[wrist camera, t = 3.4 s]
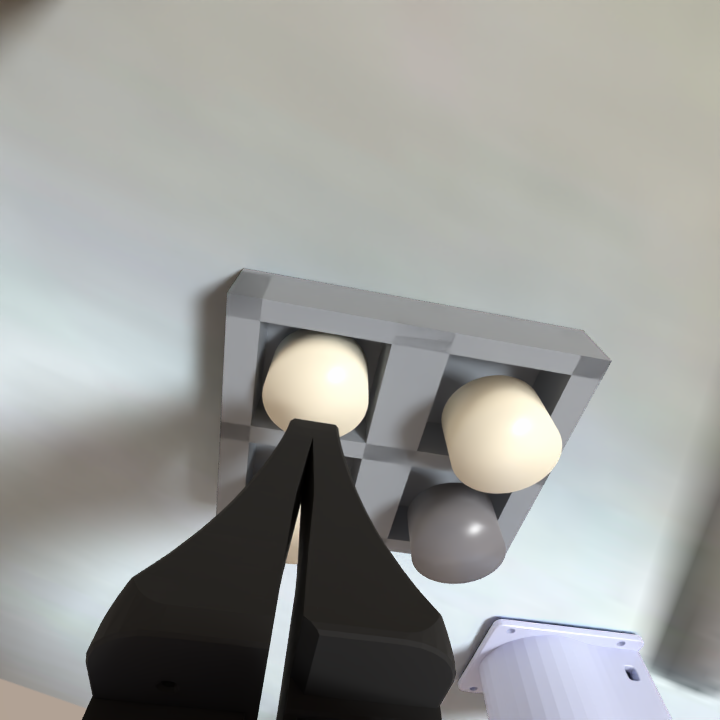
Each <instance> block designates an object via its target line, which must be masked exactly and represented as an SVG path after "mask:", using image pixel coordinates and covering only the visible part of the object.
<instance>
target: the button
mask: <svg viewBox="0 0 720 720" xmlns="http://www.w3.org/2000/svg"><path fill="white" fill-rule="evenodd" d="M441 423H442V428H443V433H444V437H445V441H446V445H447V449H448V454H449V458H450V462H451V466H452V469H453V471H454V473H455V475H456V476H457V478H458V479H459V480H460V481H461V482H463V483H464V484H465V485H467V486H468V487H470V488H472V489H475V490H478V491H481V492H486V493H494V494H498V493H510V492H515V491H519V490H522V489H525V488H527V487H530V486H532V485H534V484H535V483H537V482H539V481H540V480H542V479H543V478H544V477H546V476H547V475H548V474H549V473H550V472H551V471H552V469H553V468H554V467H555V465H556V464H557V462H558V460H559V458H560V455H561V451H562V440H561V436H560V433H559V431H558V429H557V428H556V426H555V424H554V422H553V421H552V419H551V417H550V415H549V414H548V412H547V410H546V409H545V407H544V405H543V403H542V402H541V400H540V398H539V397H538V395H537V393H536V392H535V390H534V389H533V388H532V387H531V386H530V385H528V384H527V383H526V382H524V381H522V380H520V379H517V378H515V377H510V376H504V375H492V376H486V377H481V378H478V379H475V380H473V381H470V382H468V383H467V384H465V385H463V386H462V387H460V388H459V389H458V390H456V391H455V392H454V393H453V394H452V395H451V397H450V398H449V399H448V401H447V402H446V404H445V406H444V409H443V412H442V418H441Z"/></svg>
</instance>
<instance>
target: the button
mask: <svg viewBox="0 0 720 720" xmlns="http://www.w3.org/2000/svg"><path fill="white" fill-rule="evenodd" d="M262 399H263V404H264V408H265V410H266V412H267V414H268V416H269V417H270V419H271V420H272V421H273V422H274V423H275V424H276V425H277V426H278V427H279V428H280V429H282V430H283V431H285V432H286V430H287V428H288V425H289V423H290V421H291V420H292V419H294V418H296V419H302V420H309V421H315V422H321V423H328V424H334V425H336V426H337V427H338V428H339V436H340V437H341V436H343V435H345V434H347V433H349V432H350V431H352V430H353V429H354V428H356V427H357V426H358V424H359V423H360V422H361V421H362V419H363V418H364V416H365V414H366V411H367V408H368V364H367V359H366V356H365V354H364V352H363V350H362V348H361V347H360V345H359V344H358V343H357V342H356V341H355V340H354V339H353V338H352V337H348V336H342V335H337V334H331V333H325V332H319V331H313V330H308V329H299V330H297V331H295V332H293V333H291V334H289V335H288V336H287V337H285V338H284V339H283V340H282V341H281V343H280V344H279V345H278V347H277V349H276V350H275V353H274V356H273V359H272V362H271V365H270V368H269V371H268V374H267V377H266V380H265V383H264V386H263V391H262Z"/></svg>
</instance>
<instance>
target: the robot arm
mask: <svg viewBox="0 0 720 720" xmlns="http://www.w3.org/2000/svg"><path fill="white" fill-rule="evenodd" d="M300 505H301V510H300V528H299V546H298V564H297V579H296V590H295V597H294V604H293V611H292V618H291V624H290V631H289V638H288V645H287V652H286V658H285V665H284V672H283V679H282V685H281V692H280V699H279V705H278V712H277V719H276V720H442V718H441V710H440V704H441V702H442V701H443V699H444V697H445V696H446V694H447V692H448V690H449V689H450V687H451V685H452V684H453V681H454V678H455V675H456V671H455V662H454V656H453V652H452V648H451V644H450V641H449V637H448V634H447V630H446V627H445V624H444V621H443V619H442V616H441V614H440V613H439V612H438V611H437V610H436V609H435V608H434V607H433V606H432V605H431V603H430V602H429V601H428V600H427V599H426V598H425V597H424V596H423V595H422V593H421V592H420V591H419V590H418V589H417V587H416V586H415V585H414V584H413V582H412V581H411V580H410V579H409V577H408V576H407V575H406V573H405V572H404V571H403V569H402V568H401V567H400V565H399V564H398V562H397V561H396V559H395V558H394V556H393V555H392V554H391V552H390V551H389V549H388V548H387V546H386V545H385V543H384V542H383V540H382V538H381V537H380V535H379V533H378V532H377V530H376V528H375V526H374V525H373V523H372V521H371V519H370V517H369V515H368V513H367V511H366V509H365V507H364V505H363V503H362V501H361V499H360V497H359V494H358V492H357V490H356V487H355V485H354V482H353V480H352V477H351V474H350V471H349V469H348V466H347V463H346V460H345V457H344V453H343V449H342V446H341V441H340V436H339V428H338V427H337V426H336V425H334V424H328V423H321V422H315V421H309V420H302V419H296V418H294V419H292V420H291V421H290V423H289V425H288V428H287V430H286V432H285V433H284V435H283V437H282V439H281V440H280V442H279V443H278V445H277V447H276V448H275V450H274V451H273V452H272V454H271V455H270V457H269V458H268V459H267V461H266V462H265V464H264V465H263V466H262V467H261V469H260V470H259V471H258V472H257V473H256V475H255V476H254V477H253V478H252V480H251V481H250V482H249V483H248V484H247V485H246V487H245V488H244V489H243V490H242V491H241V492H240V493H239V494H238V495H237V496H236V497H235V498H234V499H233V500H232V501H231V502H230V503H229V504H228V505H227V506H226V507H225V508H224V509H223V510H222V511H221V512H220V513H219V514H218V515H216V516H215V517H214V518H213V519H212V520H211V521H210V522H209V523H208V524H206V525H205V526H204V527H203V528H202V529H200V530H199V531H198V532H197V533H195V534H194V535H193V536H191V537H190V538H189V539H187V540H186V541H185V542H184V543H182V544H181V545H180V546H178V547H177V548H176V549H174V550H173V551H172V552H170V553H169V554H167V555H166V556H165V557H163V558H161V559H160V560H158V561H157V562H155V563H154V564H152V565H151V566H149V567H148V568H146V569H145V570H143V571H141V572H140V573H138V574H137V575H135V576H134V577H132V578H131V580H130V581H129V582H128V583H127V585H126V586H125V587H124V589H123V590H122V591H121V593H120V594H119V595H118V597H117V598H116V600H115V601H114V603H113V604H112V606H111V607H110V609H109V611H108V612H107V614H106V615H105V617H104V619H103V620H102V622H101V624H100V626H99V628H98V630H97V632H96V634H95V636H94V638H93V640H92V642H91V644H90V646H89V648H88V650H87V653H86V666H87V671H88V676H89V680H90V685H91V690H92V695H93V696H92V699H91V701H90V703H89V705H88V707H87V710H86V712H85V714H84V717H83V719H82V720H257V717H258V711H259V705H260V700H261V694H262V688H263V682H264V676H265V670H266V664H267V659H268V653H269V647H270V641H271V635H272V629H273V623H274V618H275V612H276V606H277V600H278V594H279V588H280V584H281V579H282V575H283V571H284V567H285V563H286V559H287V555H288V551H289V548H290V544H291V540H292V536H293V532H294V528H295V525H296V521H297V517H298V513H299V509H300ZM643 646H644V641H643V639H642V637H641V636H639V635H634V634H626V633H617V632H609V631H600V630H592V629H583V628H575V627H566V626H558V625H549V624H541V623H532V622H524V621H515V620H507V619H499V620H496V621H495V622H494V623H493V624H492V626H491V628H490V629H489V631H488V633H487V634H486V636H485V638H484V639H483V641H482V643H481V644H480V646H479V648H478V649H477V651H476V653H475V654H474V656H473V658H472V659H471V661H470V663H469V664H468V666H467V668H466V669H465V671H464V673H463V674H462V676H461V678H460V679H459V681H458V687H459V689H460V690H461V691H465V692H475V693H483V694H484V699H485V704H486V709H487V714H488V719H489V720H672V718H671V716H670V714H669V712H668V710H667V708H666V706H665V704H664V702H663V700H662V698H661V696H660V694H659V692H658V690H657V688H656V686H655V684H654V682H653V680H652V678H651V675H650V673H649V671H648V669H647V667H646V665H645V663H644V661H643V659H642V657H641V655H640V653H639V652H638V651H639V650H640V649H641V648H642V647H643Z"/></svg>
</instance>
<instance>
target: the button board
mask: <svg viewBox="0 0 720 720" xmlns="http://www.w3.org/2000/svg"><path fill="white" fill-rule="evenodd" d="M299 329H308V330H313V331H319V332H325V333H331V334H337V335H342V336H348V337H352V338H353V339H354V340H355V341H356V342H357V343H358V344H359V345H360V347H361V348H362V350H363V352H364V354H365V356H366V359H367V364H368V408H367V411H366V414H365V416H364V418H363V419H362V421H361V422H360V423H359V424H358V426H357V427H356V428H354V429H353V430H352V431H350V432H349V433H347V434H345V435H343V436H341V437H340V441H341V446H342V449H343V453H344V457H345V460H346V463H347V466H348V469H349V471H350V474H351V477H352V480H353V482H354V485H355V487H356V490H357V492H358V494H359V497H360V499H361V501H362V503H363V505H364V507H365V509H366V511H367V513H368V515H369V517H370V519H371V521H372V523H373V525H374V526H375V528H376V530H377V532H378V533H379V535H380V537H381V538H382V540H383V542H384V543H385V545H386V546H387V548H388V549H389V551H394V552H401V553H409V554H411V547H410V538H409V529H408V519H407V511H408V507H409V505H410V503H411V502H412V500H413V499H414V498H415V497H416V496H417V495H418V494H419V493H421V492H422V491H424V490H426V489H428V488H430V487H432V486H435V485H438V484H443V483H463V482H461V481H460V480H459V479H458V478H457V476H456V475H455V473H454V471H453V469H452V466H451V462H450V458H449V454H448V449H447V445H446V441H445V437H444V433H443V428H442V423H441V418H442V412H443V409H444V406H445V404H446V402H447V401H448V399H449V398H450V397H451V395H452V394H453V393H454V392H455V391H456V390H458V389H459V388H460V387H462V386H463V385H465V384H467V383H468V382H470V381H473V380H475V379H478V378H481V377H486V376H492V375H504V376H510V377H515V378H517V379H520V380H522V381H524V382H526V383H527V384H528V385H530V386H531V387H532V388H533V389H534V390H535V392H536V393H537V395H538V397H539V398H540V400H541V402H542V403H543V405H544V407H545V409H546V410H547V412H548V414H549V415H550V417H551V419H552V421H553V422H554V424H555V426H556V428H557V429H558V431H559V433H560V436H561V440H562V451H563V449H564V447H565V445H566V443H567V441H568V440H569V438H570V436H571V434H572V432H573V431H574V429H575V427H576V425H577V423H578V421H579V420H580V418H581V416H582V414H583V412H584V411H585V409H586V407H587V405H588V403H589V401H590V400H591V398H592V396H593V394H594V392H595V391H596V389H597V387H598V385H599V383H600V381H601V380H602V378H603V376H604V374H605V372H606V371H607V369H608V367H609V365H610V363H611V360H610V358H609V357H608V356H607V355H606V354H605V353H604V352H603V351H602V350H601V349H600V348H599V347H598V346H597V344H596V343H595V342H594V341H593V340H592V339H591V338H590V337H589V336H588V335H587V334H586V333H585V332H584V331H583V330H578V329H573V328H567V327H562V326H556V325H551V324H545V323H540V322H534V321H529V320H523V319H518V318H512V317H507V316H502V315H496V314H491V313H485V312H480V311H474V310H469V309H463V308H458V307H452V306H447V305H441V304H436V303H431V302H425V301H420V300H414V299H409V298H403V297H398V296H392V295H387V294H381V293H376V292H370V291H365V290H360V289H354V288H349V287H343V286H338V285H332V284H327V283H321V282H316V281H310V280H305V279H300V278H294V277H289V276H283V275H278V274H272V273H267V272H261V271H256V270H250V269H245V268H243V270H242V271H241V273H240V274H239V276H238V277H237V279H236V280H235V282H234V283H233V285H232V286H231V288H230V289H229V291H228V292H227V306H226V327H225V347H224V368H223V389H222V409H221V430H220V450H219V471H218V491H217V512H216V515H218V514H219V513H220V512H221V511H222V510H223V509H224V508H225V507H226V506H227V505H228V504H229V503H230V502H231V501H232V500H233V499H234V498H235V497H236V496H237V495H238V494H239V493H240V492H241V491H242V490H243V489H244V488H245V487H246V485H247V484H248V483H249V482H250V481H251V480H252V478H253V477H254V476H255V475H256V473H257V472H258V471H259V470H260V469H261V467H262V466H263V465H264V464H265V462H266V461H267V459H268V458H269V457H270V455H271V454H272V452H273V451H274V450H275V448H276V447H277V445H278V443H279V442H280V440H281V439H282V437H283V435H284V433H285V431H283V430H282V429H280V428H279V427H278V426H277V425H276V424H275V423H274V422H273V421H272V420H271V419H270V417H269V416H268V414H267V412H266V410H265V408H264V404H263V399H262V391H263V386H264V383H265V380H266V377H267V374H268V371H269V368H270V365H271V362H272V359H273V356H274V353H275V350H276V349H277V347H278V345H279V344H280V343H281V341H282V340H283V339H284V338H285V337H287V336H288V335H289V334H291V333H293V332H295V331H297V330H299ZM562 451H561V452H562ZM549 474H550V473H549ZM549 474H548V475H547V476H546V477H544V478H543V479H542V480H540V481H539V482H537V483H535V484H534V485H532V486H530V487H527V488H525V489H522V490H519V491H515V492H510V493H498V494H494V493H486V492H485V493H486V494H487V495H488V496H489V498H490V500H491V502H492V505H493V508H494V511H495V514H496V517H497V520H498V524H499V527H500V530H501V533H502V536H503V539H504V543H505V546H506V552H507V551H508V549H509V547H510V545H511V543H512V541H513V540H514V538H515V536H516V534H517V532H518V531H519V529H520V527H521V525H522V523H523V521H524V520H525V518H526V516H527V514H528V512H529V511H530V509H531V507H532V505H533V503H534V501H535V500H536V498H537V496H538V494H539V492H540V491H541V489H542V487H543V485H544V483H545V481H546V480H547V478H548V476H549Z"/></svg>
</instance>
